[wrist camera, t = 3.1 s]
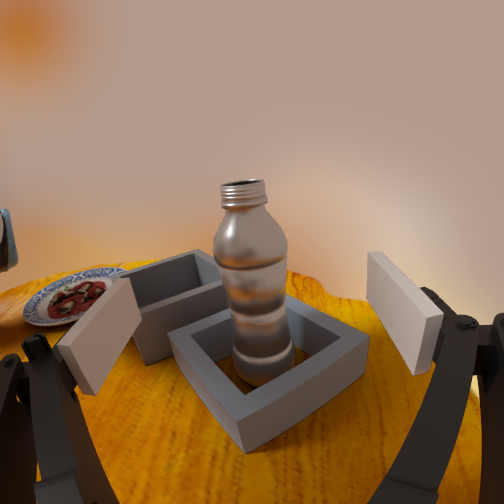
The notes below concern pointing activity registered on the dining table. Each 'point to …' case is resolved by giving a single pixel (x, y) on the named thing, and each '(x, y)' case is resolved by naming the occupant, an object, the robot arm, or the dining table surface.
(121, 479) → the dining table surface
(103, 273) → the ceramic plate
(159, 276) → the bin
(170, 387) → the dining table surface
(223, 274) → the plastic bottle
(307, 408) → the bottle holder
